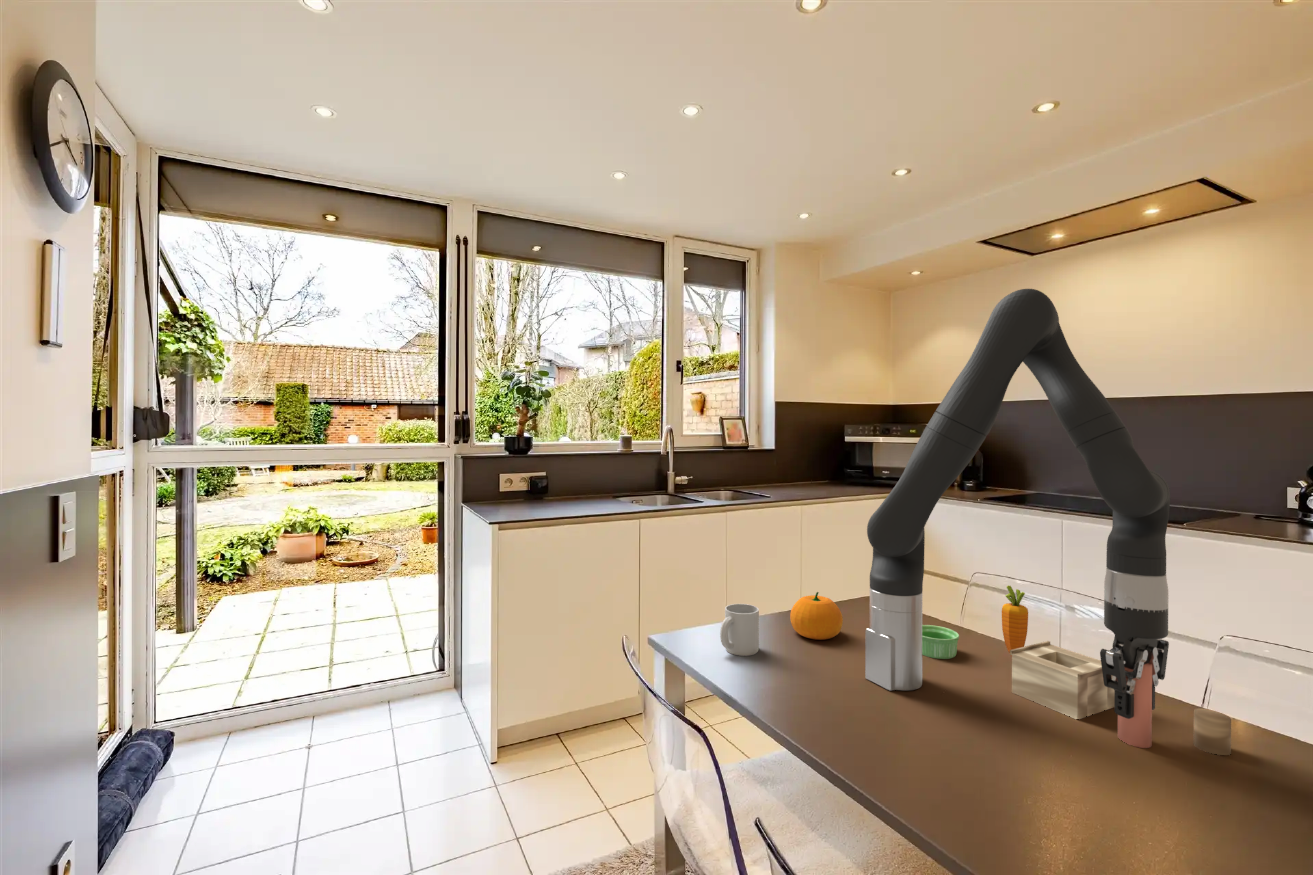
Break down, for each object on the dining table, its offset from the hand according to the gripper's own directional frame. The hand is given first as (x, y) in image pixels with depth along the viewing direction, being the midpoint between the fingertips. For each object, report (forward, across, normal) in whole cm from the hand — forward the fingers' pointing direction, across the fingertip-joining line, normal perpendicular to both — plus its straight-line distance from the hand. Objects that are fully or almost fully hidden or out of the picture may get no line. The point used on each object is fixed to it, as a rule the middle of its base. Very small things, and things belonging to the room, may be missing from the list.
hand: (1134, 711), depth 89 cm
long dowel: (+4, 0, 0) cm, 4 cm away
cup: (+5, +35, -56) cm, 66 cm away
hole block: (+4, -4, -13) cm, 14 cm away
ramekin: (+5, -3, -38) cm, 38 cm away
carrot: (+5, -14, -28) cm, 32 cm away
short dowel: (+5, -8, +6) cm, 11 cm away
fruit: (+5, +13, -57) cm, 59 cm away
